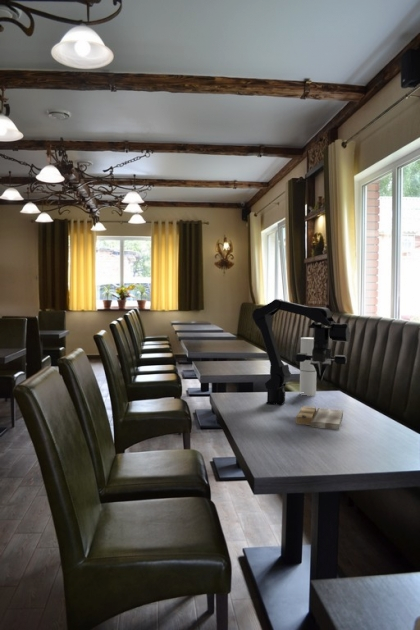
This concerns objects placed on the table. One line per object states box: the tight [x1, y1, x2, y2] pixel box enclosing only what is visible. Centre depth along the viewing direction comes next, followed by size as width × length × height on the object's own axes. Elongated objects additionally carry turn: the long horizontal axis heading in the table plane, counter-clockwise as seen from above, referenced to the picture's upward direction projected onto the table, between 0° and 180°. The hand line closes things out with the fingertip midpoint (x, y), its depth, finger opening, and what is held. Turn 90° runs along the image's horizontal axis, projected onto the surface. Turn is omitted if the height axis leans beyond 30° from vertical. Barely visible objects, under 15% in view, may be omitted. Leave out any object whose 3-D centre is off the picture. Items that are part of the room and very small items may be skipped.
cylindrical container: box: [299, 336, 317, 397], centre depth 208 cm, size 7×7×25 cm
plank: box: [295, 406, 317, 426], centre depth 167 cm, size 17×5×3 cm, turn 162°
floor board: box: [310, 407, 344, 430], centre depth 165 cm, size 9×20×2 cm, turn 161°
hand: (320, 380), depth 181 cm, fingers closed
